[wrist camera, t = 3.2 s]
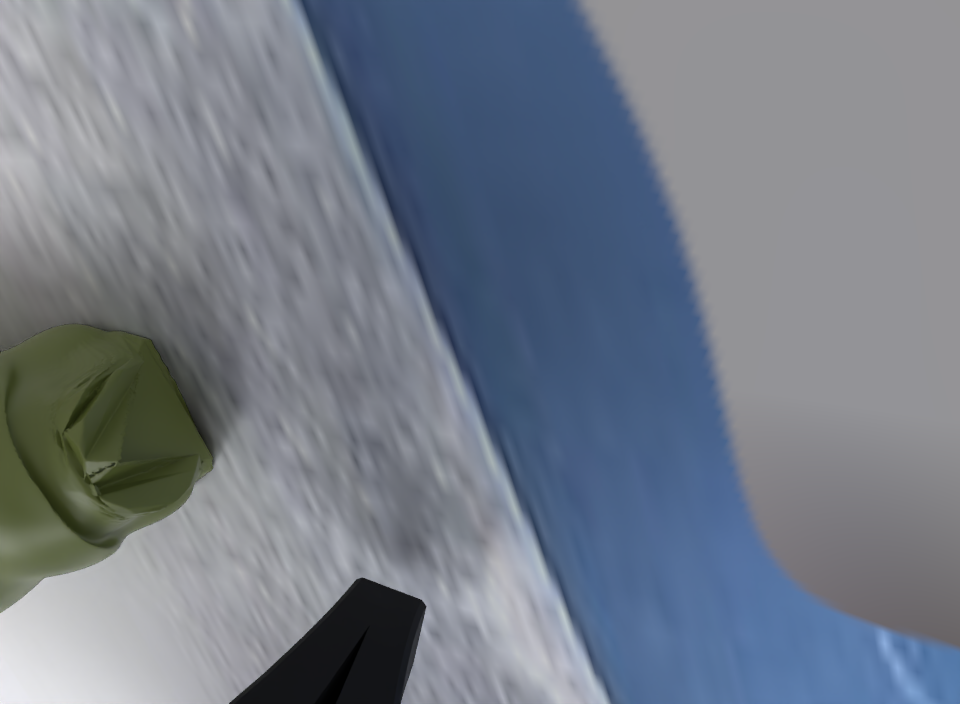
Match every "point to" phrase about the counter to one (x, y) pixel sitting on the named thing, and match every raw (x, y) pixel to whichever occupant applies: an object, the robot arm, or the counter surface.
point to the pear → (86, 450)
